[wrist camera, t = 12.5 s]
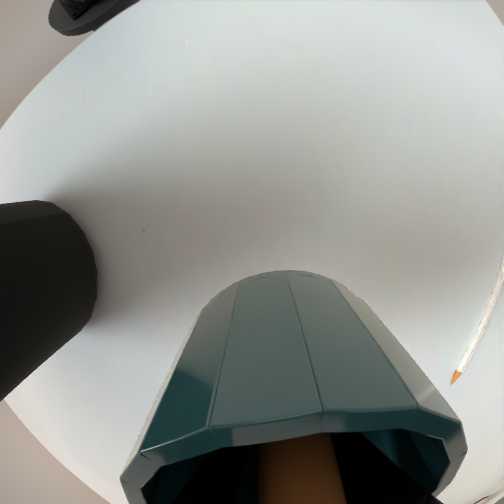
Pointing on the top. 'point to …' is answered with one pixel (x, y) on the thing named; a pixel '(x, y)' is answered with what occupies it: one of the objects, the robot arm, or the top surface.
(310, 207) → the top surface
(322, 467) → the tan wooden dowel
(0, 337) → the coffee jar
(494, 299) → the pencil
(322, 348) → the teal cup
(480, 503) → the teacup
